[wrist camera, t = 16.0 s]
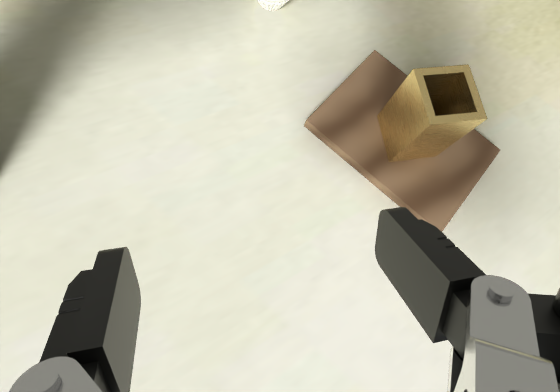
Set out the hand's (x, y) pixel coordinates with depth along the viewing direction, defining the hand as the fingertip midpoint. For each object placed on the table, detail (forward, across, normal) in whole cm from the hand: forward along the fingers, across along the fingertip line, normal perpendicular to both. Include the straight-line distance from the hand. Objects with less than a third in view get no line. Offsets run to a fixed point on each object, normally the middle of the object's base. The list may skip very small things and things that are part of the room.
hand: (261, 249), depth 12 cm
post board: (+30, -22, +10) cm, 39 cm away
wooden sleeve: (+29, -22, +9) cm, 38 cm away
